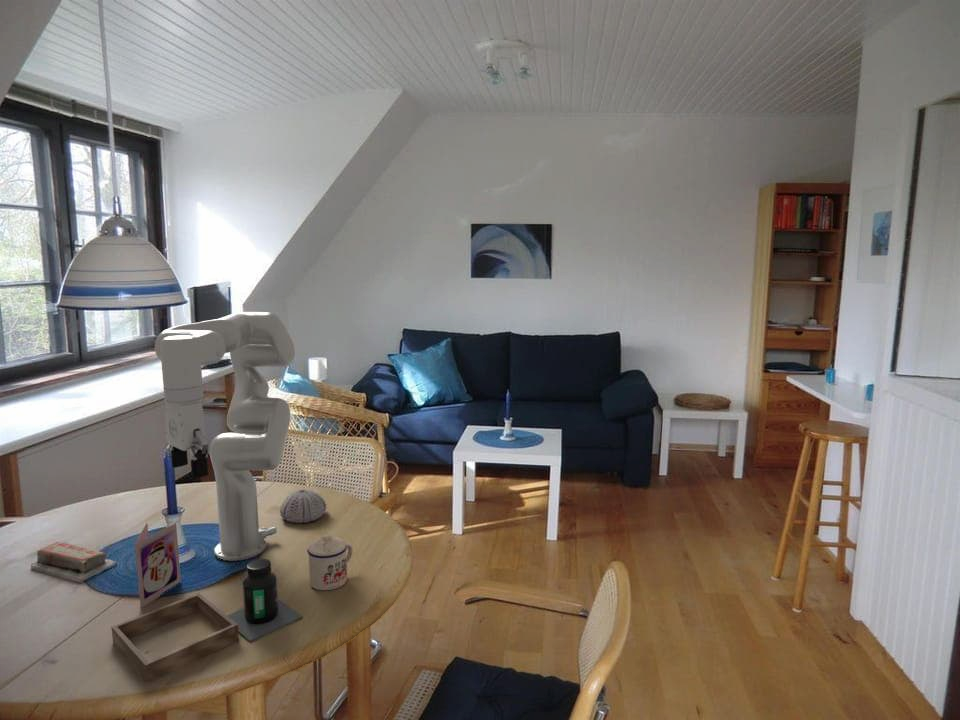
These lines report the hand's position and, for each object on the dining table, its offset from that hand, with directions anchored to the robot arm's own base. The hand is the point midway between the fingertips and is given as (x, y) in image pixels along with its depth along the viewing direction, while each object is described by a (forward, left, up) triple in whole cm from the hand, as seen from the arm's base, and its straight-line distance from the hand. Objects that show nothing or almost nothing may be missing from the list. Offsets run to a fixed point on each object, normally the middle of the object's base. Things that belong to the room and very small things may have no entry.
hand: (189, 471), depth 140 cm
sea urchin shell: (-41, -23, -31) cm, 56 cm away
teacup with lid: (-26, +14, -31) cm, 42 cm away
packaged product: (+15, -38, -31) cm, 51 cm away
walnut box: (+10, +12, -30) cm, 34 cm away
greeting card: (+6, -11, -31) cm, 33 cm away
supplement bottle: (-6, +17, -30) cm, 35 cm away
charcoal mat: (-6, +17, -30) cm, 35 cm away
